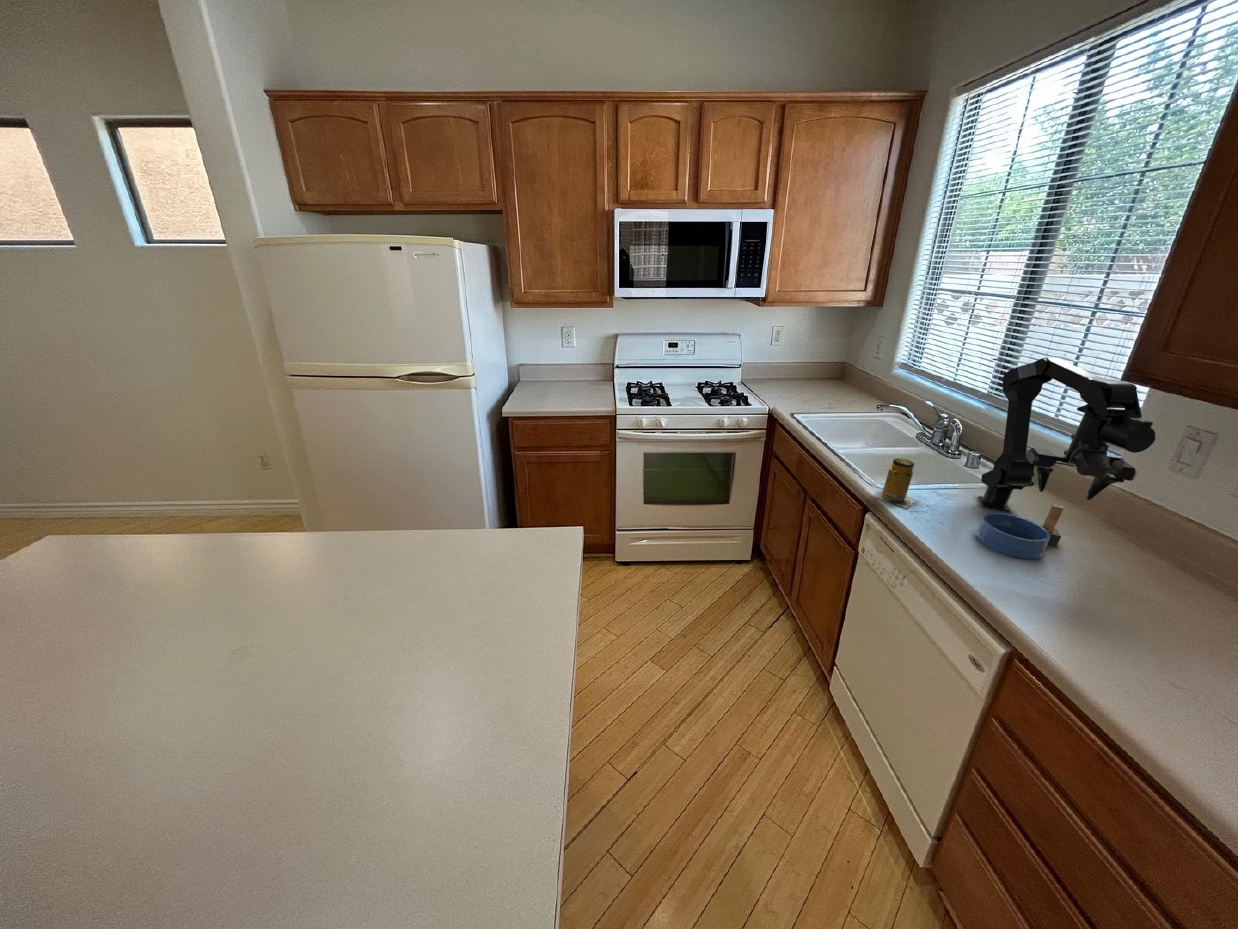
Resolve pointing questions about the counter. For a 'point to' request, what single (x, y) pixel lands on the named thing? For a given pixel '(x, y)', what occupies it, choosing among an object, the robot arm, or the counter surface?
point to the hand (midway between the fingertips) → (1063, 495)
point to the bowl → (1013, 535)
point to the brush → (1053, 523)
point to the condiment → (898, 483)
